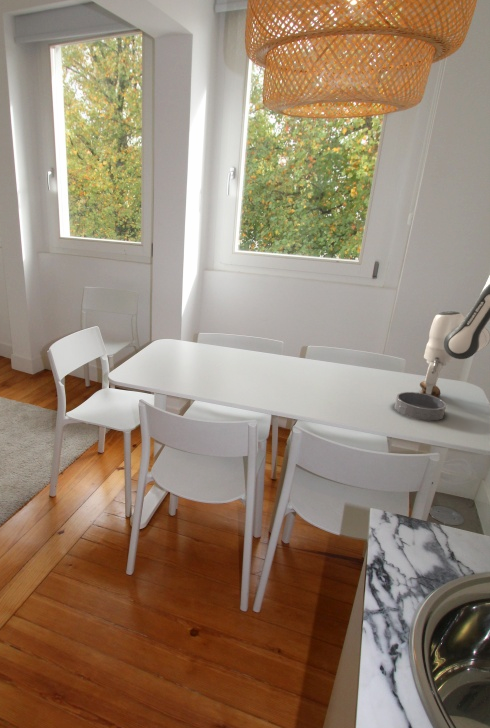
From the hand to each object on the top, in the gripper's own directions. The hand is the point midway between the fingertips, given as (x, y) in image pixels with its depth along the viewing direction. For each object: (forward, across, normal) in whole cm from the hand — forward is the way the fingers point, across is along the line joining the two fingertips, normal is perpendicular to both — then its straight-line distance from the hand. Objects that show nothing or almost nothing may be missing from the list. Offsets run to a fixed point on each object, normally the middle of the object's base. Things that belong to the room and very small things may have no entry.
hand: (429, 389), depth 177 cm
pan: (+3, -18, +1) cm, 18 cm away
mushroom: (+3, 0, 0) cm, 3 cm away
